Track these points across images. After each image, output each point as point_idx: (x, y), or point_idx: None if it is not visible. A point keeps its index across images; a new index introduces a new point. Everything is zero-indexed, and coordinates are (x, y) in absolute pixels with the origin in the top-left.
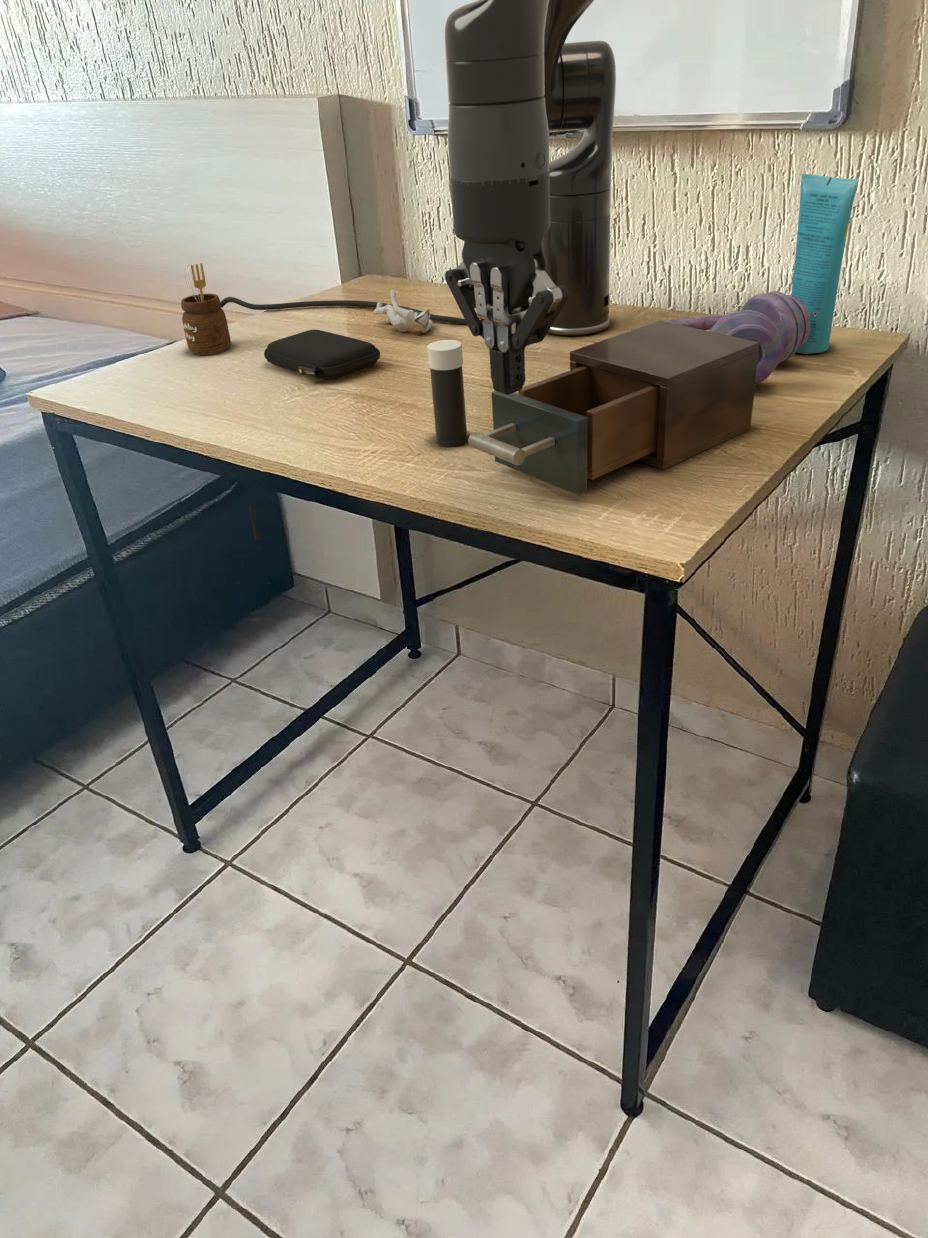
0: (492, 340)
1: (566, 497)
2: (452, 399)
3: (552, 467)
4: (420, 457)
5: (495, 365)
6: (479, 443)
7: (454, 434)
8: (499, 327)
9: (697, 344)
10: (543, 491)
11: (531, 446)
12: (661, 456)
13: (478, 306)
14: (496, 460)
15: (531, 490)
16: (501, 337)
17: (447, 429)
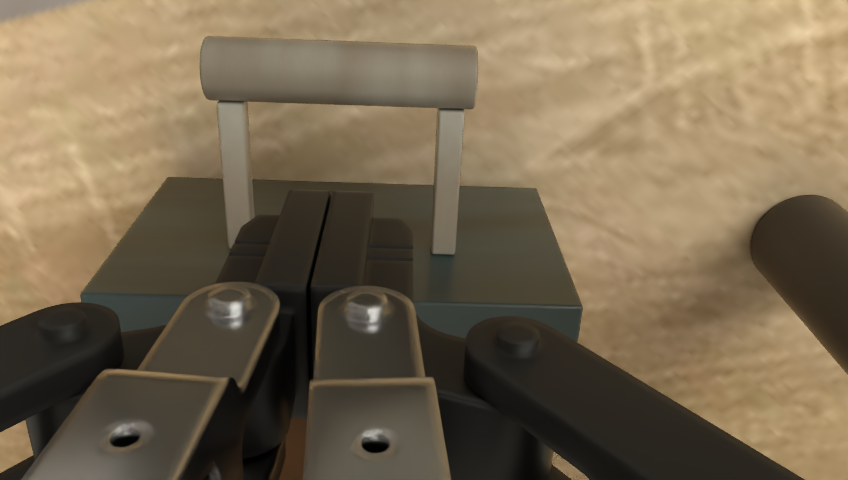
0: (330, 314)
1: None
2: (835, 298)
3: (264, 203)
4: (810, 95)
5: (334, 243)
6: (408, 48)
7: (778, 235)
8: (231, 373)
9: None
10: (318, 168)
11: (230, 149)
12: None
13: (408, 432)
14: (529, 189)
15: (350, 151)
16: (228, 333)
17: (804, 229)
